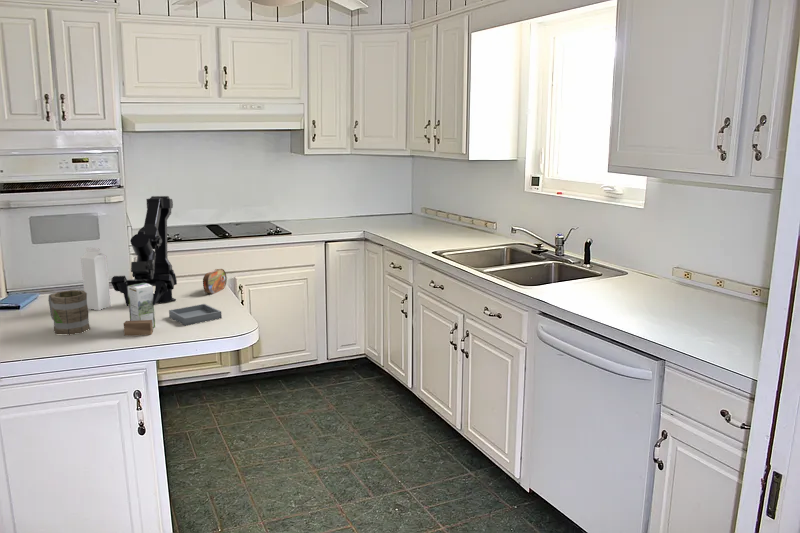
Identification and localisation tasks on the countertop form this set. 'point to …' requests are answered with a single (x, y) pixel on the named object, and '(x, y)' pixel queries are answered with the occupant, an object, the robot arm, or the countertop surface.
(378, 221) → the countertop surface
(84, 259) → the milk
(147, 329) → the block
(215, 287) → the tin
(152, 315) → the syrup box
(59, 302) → the mug
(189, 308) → the tray
